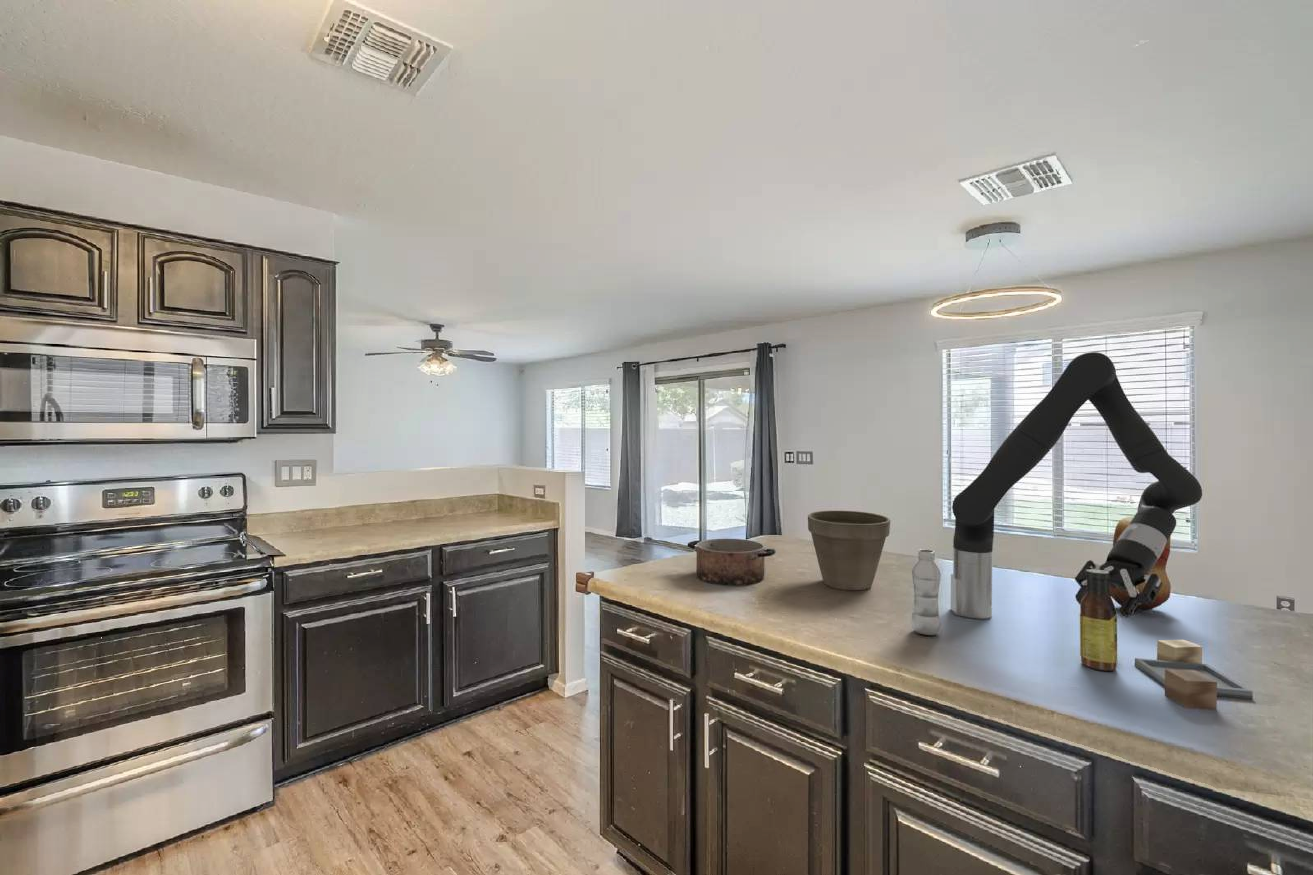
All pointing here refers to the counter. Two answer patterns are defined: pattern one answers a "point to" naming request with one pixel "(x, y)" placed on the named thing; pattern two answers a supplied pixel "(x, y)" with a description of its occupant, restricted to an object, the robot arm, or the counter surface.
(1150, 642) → the counter surface
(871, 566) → the plant pot
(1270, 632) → the counter surface
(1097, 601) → the sauce bottle
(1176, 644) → the oak block
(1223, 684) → the tray
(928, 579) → the plastic bottle
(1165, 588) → the butternut squash
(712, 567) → the cooking pot
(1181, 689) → the walnut block
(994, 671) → the counter surface
